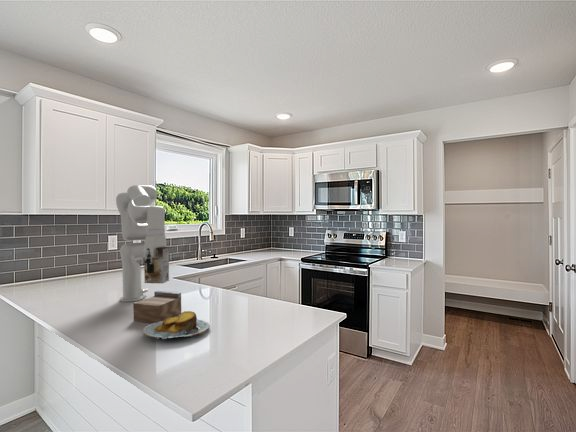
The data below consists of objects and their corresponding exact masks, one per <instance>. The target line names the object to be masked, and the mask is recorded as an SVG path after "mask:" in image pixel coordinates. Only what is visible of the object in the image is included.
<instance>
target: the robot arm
mask: <svg viewBox="0 0 576 432" xmlns="http://www.w3.org/2000/svg"><path fill="white" fill-rule="evenodd" d="M126 191H127V192H121V193H118V194H117V195H116V197H115V202H116V203H115V204H116V208H117V210H118V213H119V216H120V223H121V236H122V239H123V240H124V241H128V242H129V241H132V242H129V243H124V244H123V245H121V247H120V249H119V254H120V259H121V267H122V270H121V271H122V272H121V273H122V296H121V297H119V302H122V303H130V302H132V303H133V302H139V301H141V300H144V299H146V298H145V297H146V296H145V295H144V293H148V292H149V291H148V290H149V289H148V288H144V289H143V288H142V285H143V284H142V267H141V265H140V263H139V262H137V261H138V260H143V261H145V263H146V264H147V273H154V265H153V264H152V263H153V260H154V258H156V248H161V247H168V245H167V238H166V235H165V233H166V231H165V230H166V228H165V226H166V225H165V224H166V223H165V207H164V206H161V205H153V203H155V201H157V198H158V191H157V189H156V187H154V186H153V185H144V184H143V185H140V184H139V185H138V184H134V185H131V186H129V187H128V188H127V190H126ZM142 222H143V223H142ZM134 241H143V242H134ZM148 254H150V255H151V257H149V255H148ZM147 257H148V258H147ZM149 259H151V260H149Z"/></svg>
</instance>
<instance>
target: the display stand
mask: <svg viewBox="0 0 576 432" xmlns="http://www.w3.org/2000/svg"><path fill="white" fill-rule="evenodd" d="M132 303H133V302H132ZM132 306H133V307H132V308H133V310H132V311H133V322H135V323H137V322H139V323H144V324H145V323H146V324H153V323H157V322H160V321H164V320H165V319H167V318H171V317H176V316H180V315H181V314H182V293H181V292H177V291H176V292H174V291H164V290H163V291H161V290H155V291H154V295H153V296H151V297H148V298H144V299H142V300H138V301H135V302H134V303H133V304H132Z"/></svg>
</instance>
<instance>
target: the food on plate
mask: <svg viewBox="0 0 576 432" xmlns="http://www.w3.org/2000/svg"><path fill="white" fill-rule="evenodd" d="M210 326H211V325H210V323H209V322H207V321H205V320H202V319H198V318H197V313H195V311H189V310H187V311H182V312H181V314H180V315H178V316H175V317H171V318H167V319H165V320H164V321H160V322H157V323H153V324H152V323H148V325H146V326H144V327H143V329H142V332H143V336H146V337H152V338H155V339H156V340H157V339H158V340H159V339H160V338H161V339H162V340H167V339H172V338H179V337H180V338H181V337H193V336H196V335H202V334H205V332H206V331H207V330H209V328H210Z"/></svg>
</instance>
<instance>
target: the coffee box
mask: <svg viewBox="0 0 576 432" xmlns="http://www.w3.org/2000/svg"><path fill="white" fill-rule="evenodd" d="M169 254H170V247H169V246H167V247H161V248H156V258H154V260H153V263H152V264H153V265H154V273H147V264H146V263H145V261H144V260H143V261H144V265H143V266H144V267H143V268H144V269H143V270H144V272H143V273H144V282H143V283H144V284H165V283H167V282H169V281H170V257H169V256H170V255H169ZM148 255H149V257H151V255H150V254H148ZM147 258H148V257H147ZM149 260H151V259H149Z"/></svg>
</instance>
